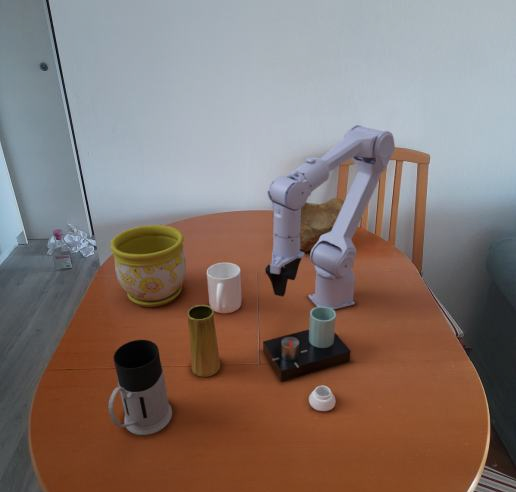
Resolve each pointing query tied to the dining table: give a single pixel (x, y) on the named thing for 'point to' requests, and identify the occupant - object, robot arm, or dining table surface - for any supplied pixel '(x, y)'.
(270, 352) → the hob
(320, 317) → the cup
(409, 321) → the dining table surface
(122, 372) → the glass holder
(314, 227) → the rough brown rock
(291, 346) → the hob knob
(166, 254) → the flowerpot
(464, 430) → the dining table surface
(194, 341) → the vase
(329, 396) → the white jar
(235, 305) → the mug
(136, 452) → the dining table surface
